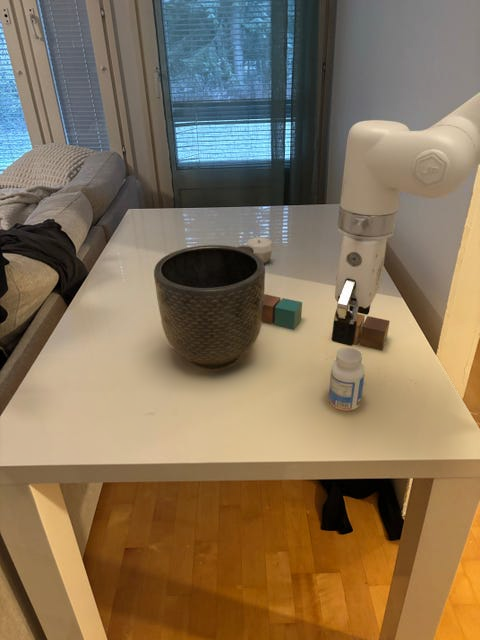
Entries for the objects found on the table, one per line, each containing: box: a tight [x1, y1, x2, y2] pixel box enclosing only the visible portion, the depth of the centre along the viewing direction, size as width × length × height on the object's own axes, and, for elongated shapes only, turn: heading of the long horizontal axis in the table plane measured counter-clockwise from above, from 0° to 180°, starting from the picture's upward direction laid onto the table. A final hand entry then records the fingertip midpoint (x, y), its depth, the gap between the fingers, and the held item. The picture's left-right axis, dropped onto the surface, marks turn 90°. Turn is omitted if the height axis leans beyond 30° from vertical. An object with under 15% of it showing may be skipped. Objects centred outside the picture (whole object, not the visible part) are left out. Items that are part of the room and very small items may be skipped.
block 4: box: [359, 315, 391, 351], centre depth 93 cm, size 4×4×4 cm
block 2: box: [274, 297, 303, 330], centre depth 101 cm, size 4×4×4 cm
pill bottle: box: [328, 347, 366, 412], centre depth 77 cm, size 6×5×10 cm
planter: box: [153, 244, 266, 370], centre depth 87 cm, size 20×20×19 cm
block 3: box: [351, 312, 366, 345], centre depth 95 cm, size 4×4×4 cm
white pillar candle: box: [245, 237, 274, 264], centre depth 128 cm, size 8×8×7 cm
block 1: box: [262, 293, 282, 325], centre depth 102 cm, size 4×4×4 cm
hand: (351, 326), depth 72 cm, fingers open, 9 cm apart
